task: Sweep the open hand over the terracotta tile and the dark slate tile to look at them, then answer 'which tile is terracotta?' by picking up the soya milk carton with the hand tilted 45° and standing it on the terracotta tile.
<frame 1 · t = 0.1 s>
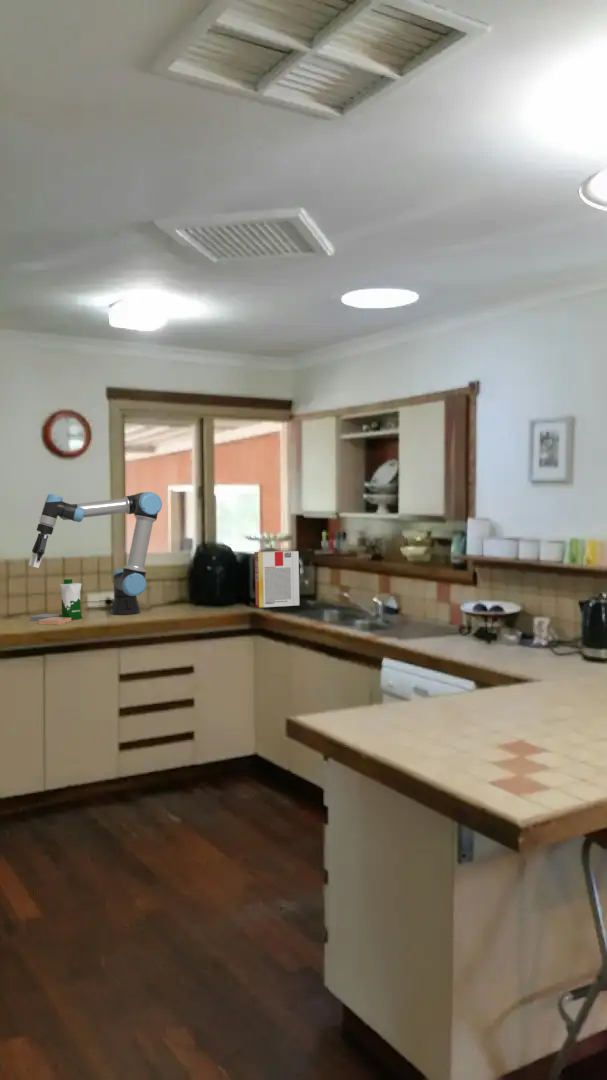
hand: (33, 566, 416), 28 cm above the counter, tool tilted 20°, fingers open, 13 cm apart
terracotta tile: (55, 622, 418), on the counter
soya milk: (72, 619, 431), on the counter
slate tile: (46, 619, 431), on the counter
pasta box: (277, 605, 472), on the counter
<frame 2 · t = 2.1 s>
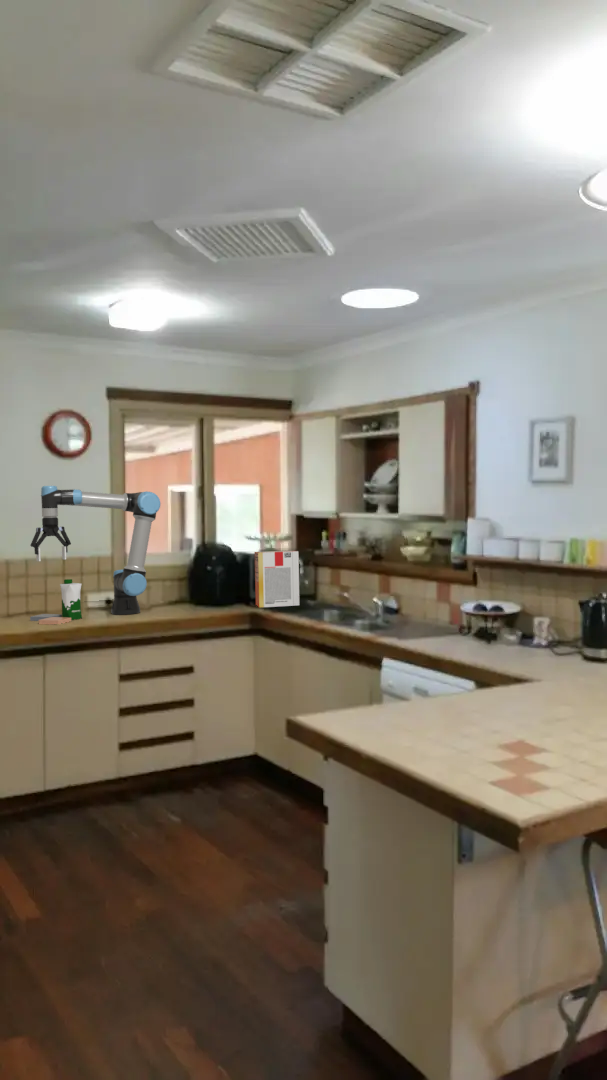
hand: (51, 560, 420), 31 cm above the counter, tool pointing down, fingers open, 13 cm apart
nothing on the counter moved.
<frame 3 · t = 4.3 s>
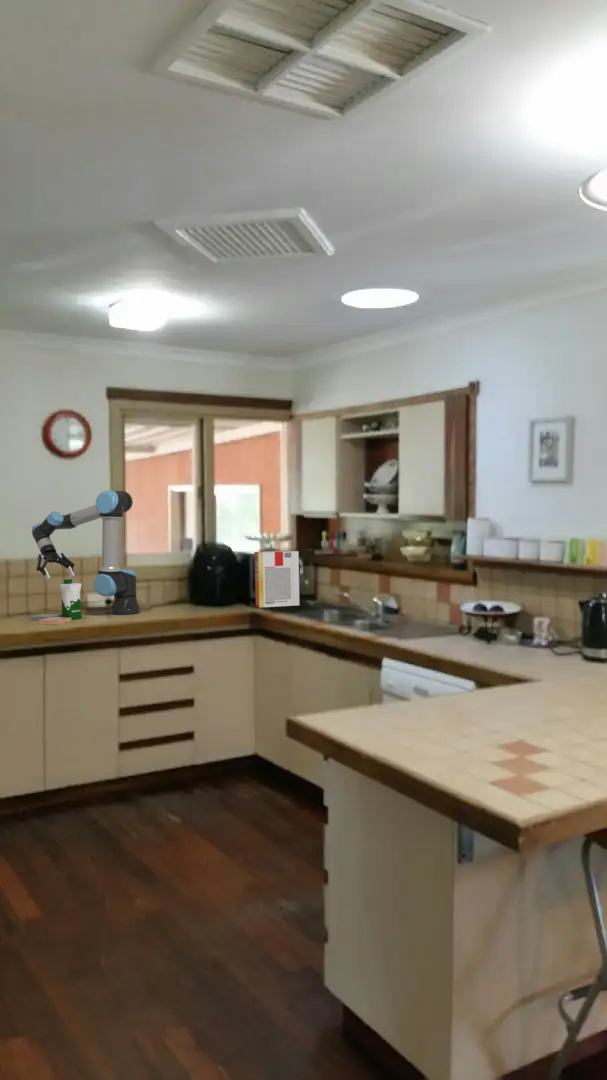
hand: (61, 578, 438), 20 cm above the counter, tool tilted 45°, fingers open, 13 cm apart
nothing on the counter moved.
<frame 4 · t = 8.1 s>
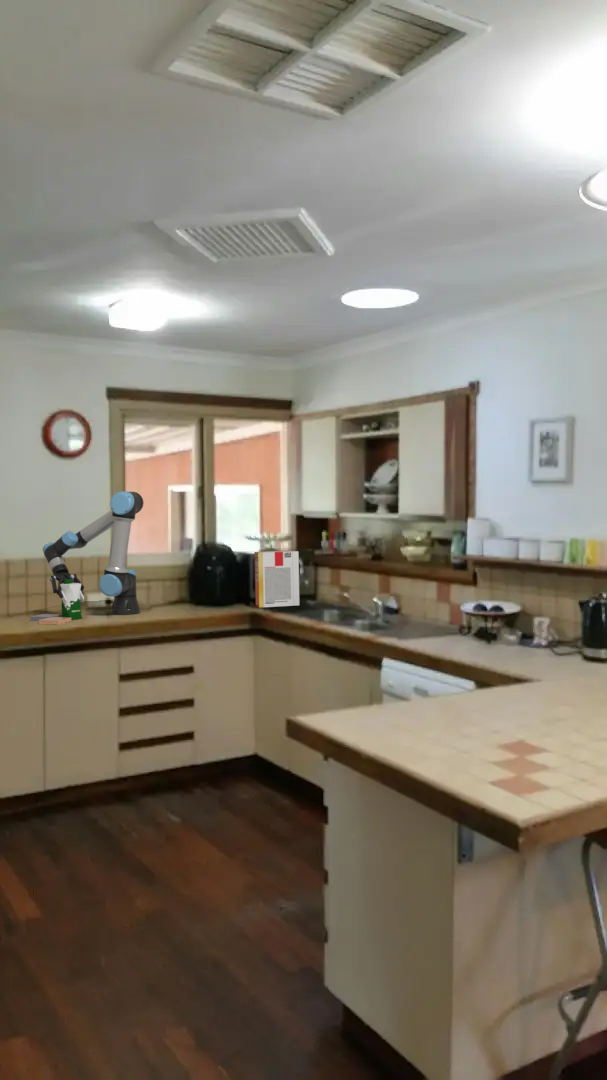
hand: (74, 601, 428), 9 cm above the counter, tool tilted 45°, fingers closed on soya milk, 9 cm apart
soya milk: (72, 619, 431), on the counter, touching gripper
everything else where it was.
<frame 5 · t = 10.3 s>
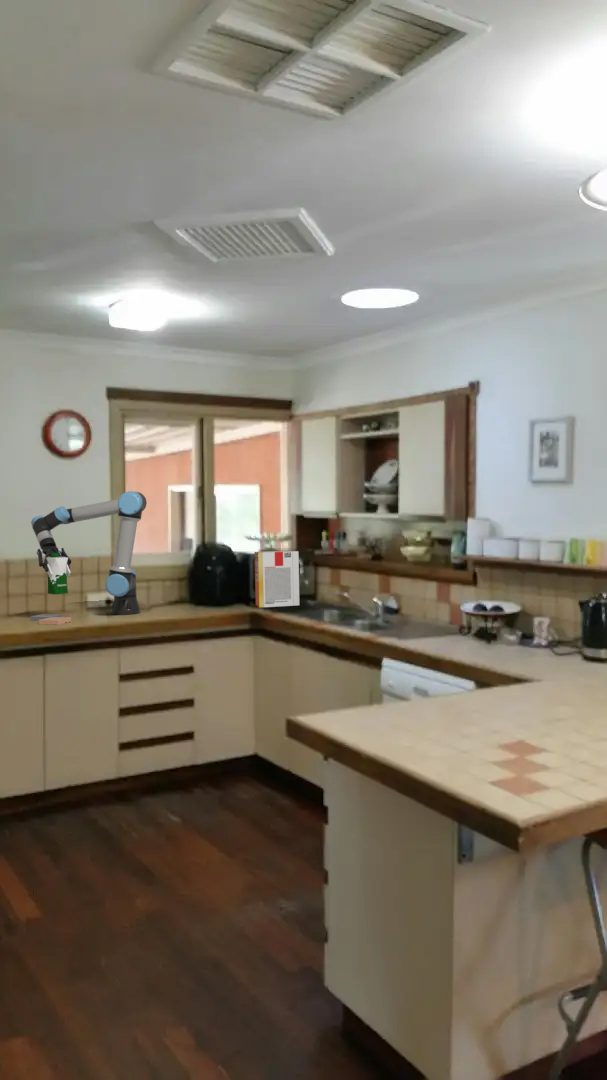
hand: (60, 575, 420), 23 cm above the counter, tool tilted 45°, fingers closed on soya milk, 9 cm apart
soya milk: (57, 593, 423), point 14 cm above the counter, touching gripper
everything else where it was.
when the fingers open (13 cm above the counter, at t = 13.0 s): soya milk drops 1 cm, resting on terracotta tile.
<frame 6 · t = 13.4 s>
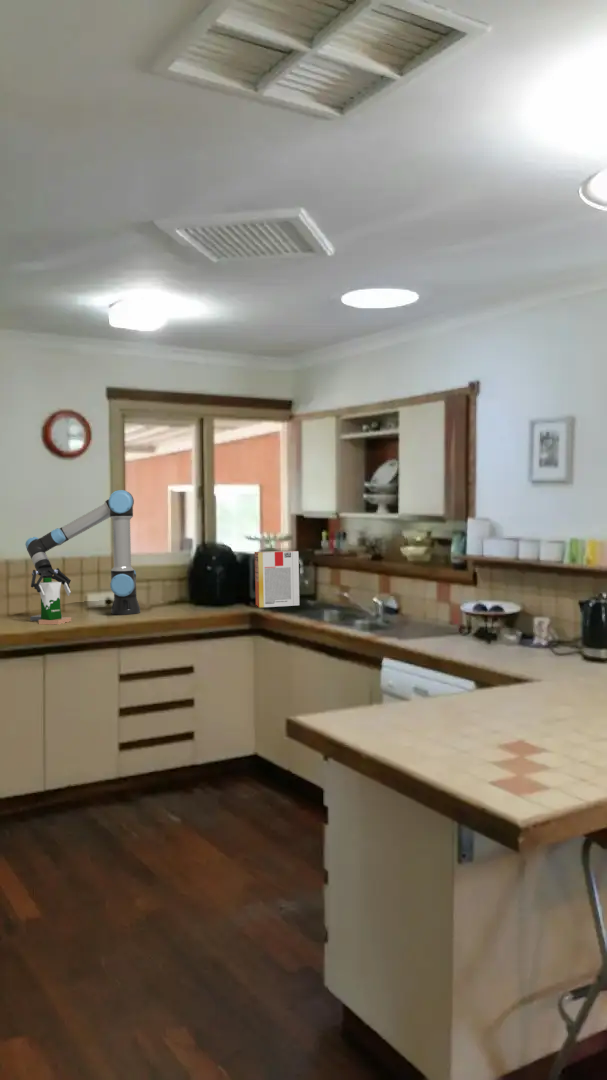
hand: (56, 595, 416), 14 cm above the counter, tool tilted 45°, fingers open, 13 cm apart
soya milk: (51, 619, 417), point 2 cm above the counter, touching terracotta tile
everything else where it was.
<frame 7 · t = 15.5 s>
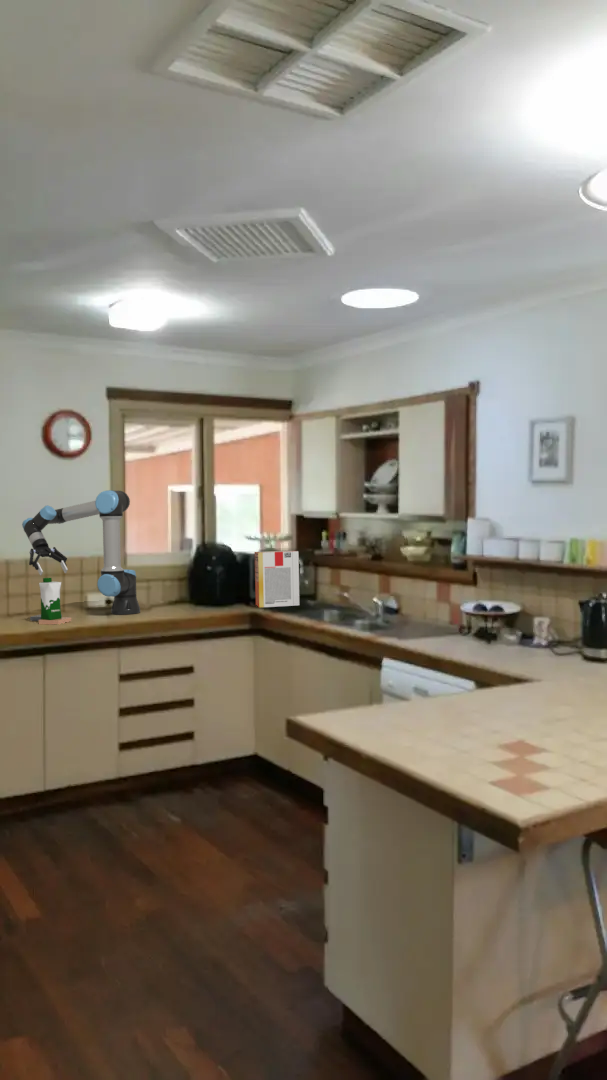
hand: (54, 572, 433), 24 cm above the counter, tool tilted 45°, fingers open, 13 cm apart
nothing on the counter moved.
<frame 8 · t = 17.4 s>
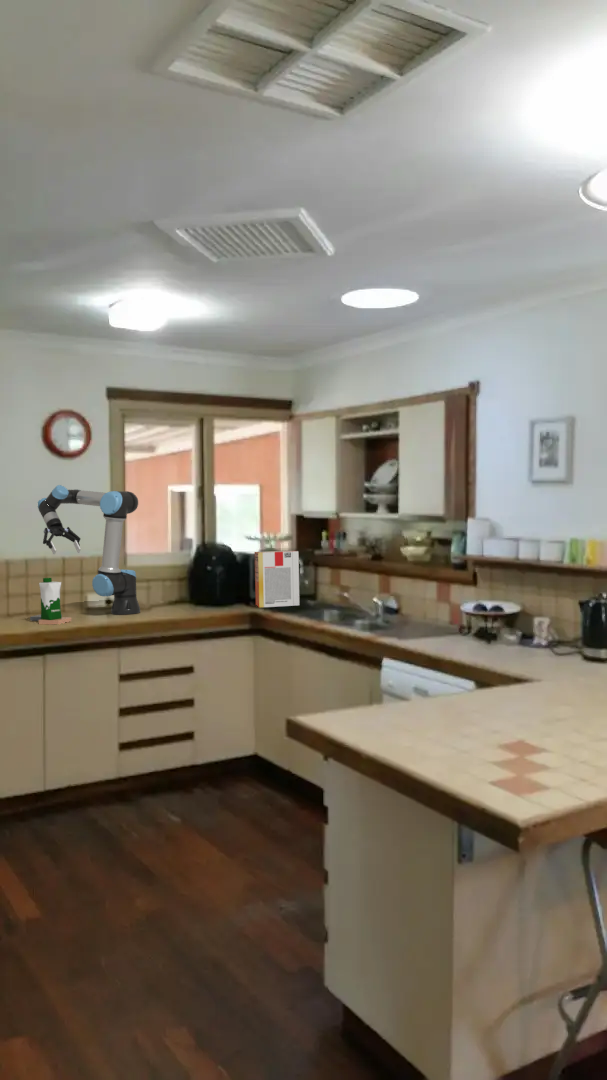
hand: (67, 551, 439), 34 cm above the counter, tool tilted 45°, fingers open, 13 cm apart
nothing on the counter moved.
at the end: soya milk 1.8 cm from the terracotta tile (horizontally); soya milk touching terracotta tile; soya milk tilted 0° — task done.
